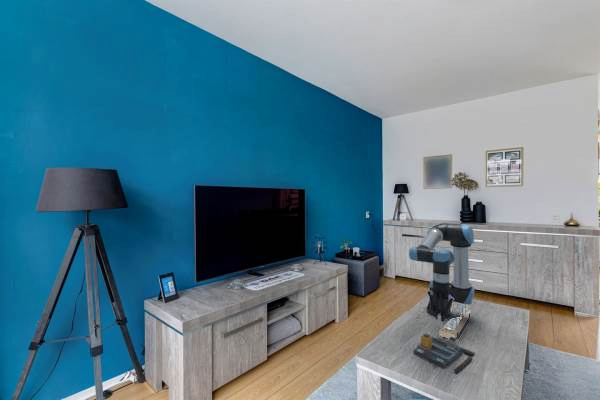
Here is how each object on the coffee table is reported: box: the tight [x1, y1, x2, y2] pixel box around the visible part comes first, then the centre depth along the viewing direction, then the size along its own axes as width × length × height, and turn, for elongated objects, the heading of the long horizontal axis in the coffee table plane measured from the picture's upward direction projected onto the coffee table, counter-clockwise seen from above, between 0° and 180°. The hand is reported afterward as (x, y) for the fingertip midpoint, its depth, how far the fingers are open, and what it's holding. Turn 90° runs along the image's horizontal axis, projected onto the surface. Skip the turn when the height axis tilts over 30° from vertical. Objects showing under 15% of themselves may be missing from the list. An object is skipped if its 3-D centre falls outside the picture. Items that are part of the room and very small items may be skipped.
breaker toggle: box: [420, 333, 432, 349], centre depth 147 cm, size 4×4×7 cm
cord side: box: [453, 356, 473, 374], centre depth 134 cm, size 17×2×2 cm, turn 127°
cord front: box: [437, 337, 475, 358], centre depth 151 cm, size 3×21×2 cm, turn 37°
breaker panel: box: [413, 335, 463, 370], centre depth 144 cm, size 19×16×9 cm
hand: (440, 326), depth 141 cm, fingers closed
